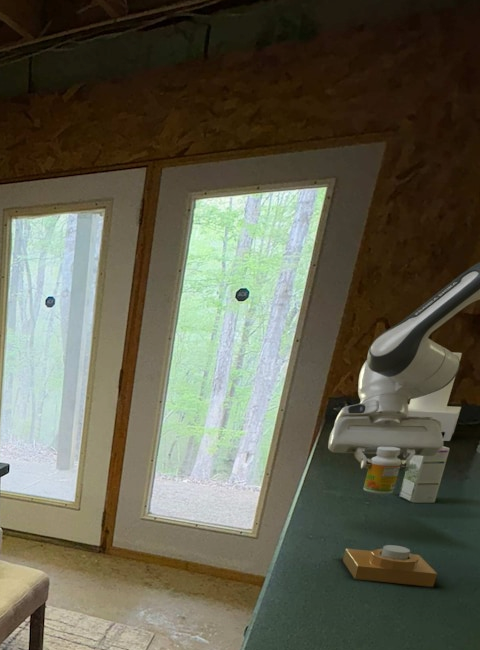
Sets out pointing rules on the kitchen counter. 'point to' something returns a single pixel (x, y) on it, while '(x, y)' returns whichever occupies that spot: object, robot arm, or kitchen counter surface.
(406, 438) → the robot arm
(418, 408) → the white toy chair
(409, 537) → the kitchen counter surface
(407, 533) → the kitchen counter surface
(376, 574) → the button base
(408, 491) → the syrup box
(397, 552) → the grey button cap
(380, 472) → the supplement bottle
